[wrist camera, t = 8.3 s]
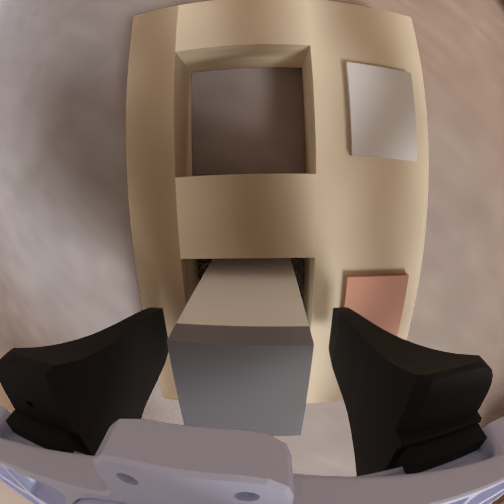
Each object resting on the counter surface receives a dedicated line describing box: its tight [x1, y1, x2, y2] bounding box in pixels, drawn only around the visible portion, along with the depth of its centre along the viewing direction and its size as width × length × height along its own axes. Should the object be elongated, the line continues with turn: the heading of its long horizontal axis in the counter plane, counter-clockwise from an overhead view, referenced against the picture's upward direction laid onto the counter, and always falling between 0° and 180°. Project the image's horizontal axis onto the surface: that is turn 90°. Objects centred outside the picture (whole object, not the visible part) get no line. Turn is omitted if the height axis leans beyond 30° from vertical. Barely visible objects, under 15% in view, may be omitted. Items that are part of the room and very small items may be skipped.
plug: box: [167, 258, 314, 436], centre depth 12 cm, size 4×4×8 cm
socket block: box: [126, 0, 429, 403], centre depth 13 cm, size 13×20×3 cm, turn 1°
